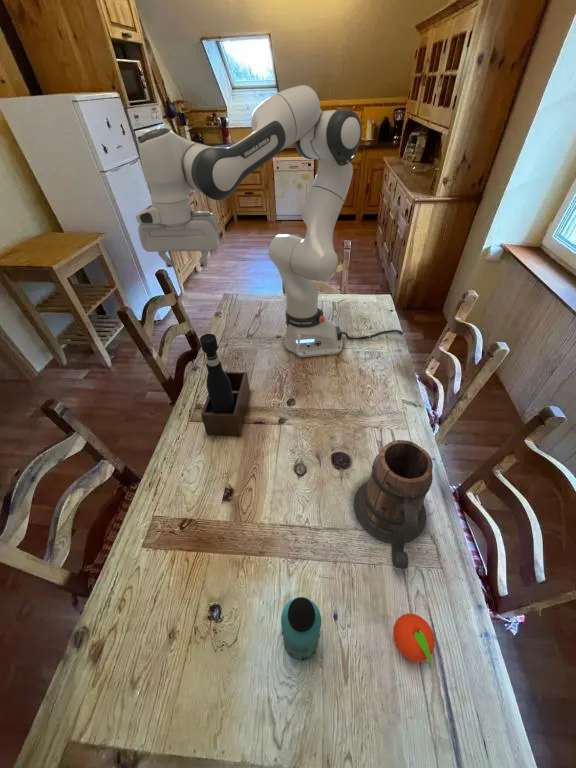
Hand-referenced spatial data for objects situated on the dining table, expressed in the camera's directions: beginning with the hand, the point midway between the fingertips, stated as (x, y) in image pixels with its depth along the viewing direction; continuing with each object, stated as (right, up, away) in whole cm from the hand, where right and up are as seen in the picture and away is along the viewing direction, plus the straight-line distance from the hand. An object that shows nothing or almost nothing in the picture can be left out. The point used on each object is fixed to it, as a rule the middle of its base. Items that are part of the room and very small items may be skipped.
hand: (187, 266), depth 93 cm
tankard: (+51, -64, -14) cm, 84 cm away
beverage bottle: (+30, -80, -30) cm, 91 cm away
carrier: (+9, -41, +13) cm, 44 cm away
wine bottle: (+9, -43, +9) cm, 45 cm away
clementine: (+50, -80, -31) cm, 99 cm away
